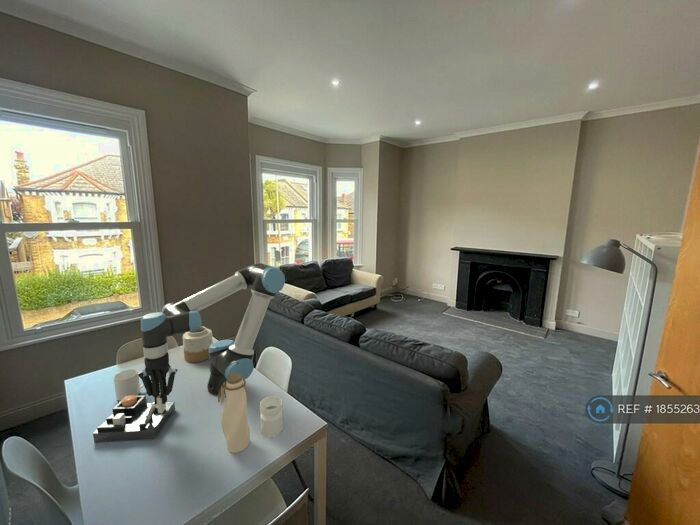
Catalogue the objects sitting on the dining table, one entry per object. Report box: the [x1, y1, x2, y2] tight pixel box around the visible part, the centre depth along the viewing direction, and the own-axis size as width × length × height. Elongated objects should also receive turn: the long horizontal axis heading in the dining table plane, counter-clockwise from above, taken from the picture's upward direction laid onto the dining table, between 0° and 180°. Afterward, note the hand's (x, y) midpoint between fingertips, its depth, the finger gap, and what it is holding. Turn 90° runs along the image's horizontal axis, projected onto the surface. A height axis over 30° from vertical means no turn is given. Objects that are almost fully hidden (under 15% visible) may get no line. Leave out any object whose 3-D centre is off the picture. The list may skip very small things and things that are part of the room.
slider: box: [113, 413, 125, 425], centre depth 109 cm, size 2×3×4 cm
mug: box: [113, 368, 145, 402], centre depth 133 cm, size 12×9×11 cm
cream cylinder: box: [259, 395, 284, 438], centre depth 114 cm, size 9×9×12 cm
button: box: [122, 395, 138, 407], centre depth 118 cm, size 5×5×4 cm
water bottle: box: [217, 373, 251, 454], centre depth 104 cm, size 10×9×28 cm
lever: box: [144, 401, 157, 424], centre depth 110 cm, size 2×3×8 cm
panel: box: [92, 394, 176, 444], centre depth 115 cm, size 21×16×8 cm
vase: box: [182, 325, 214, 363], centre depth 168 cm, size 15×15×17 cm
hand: (162, 410), depth 110 cm, fingers closed
